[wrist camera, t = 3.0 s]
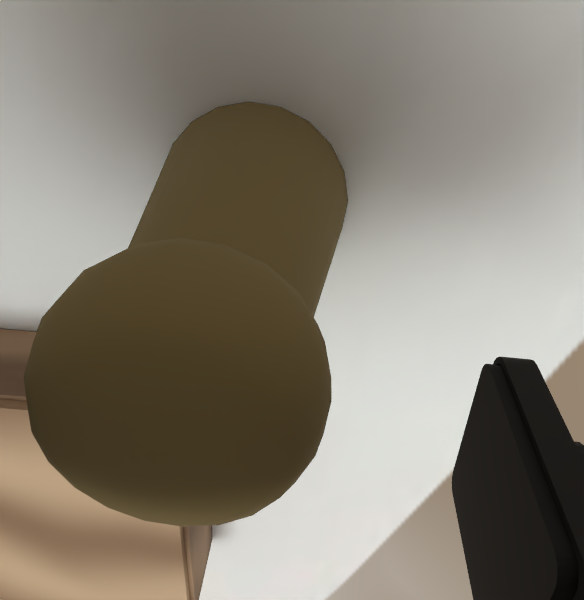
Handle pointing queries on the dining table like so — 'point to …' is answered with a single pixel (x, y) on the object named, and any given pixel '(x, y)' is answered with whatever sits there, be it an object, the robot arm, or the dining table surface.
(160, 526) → the walnut stand
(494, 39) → the dining table surface
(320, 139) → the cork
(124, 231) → the dining table surface
